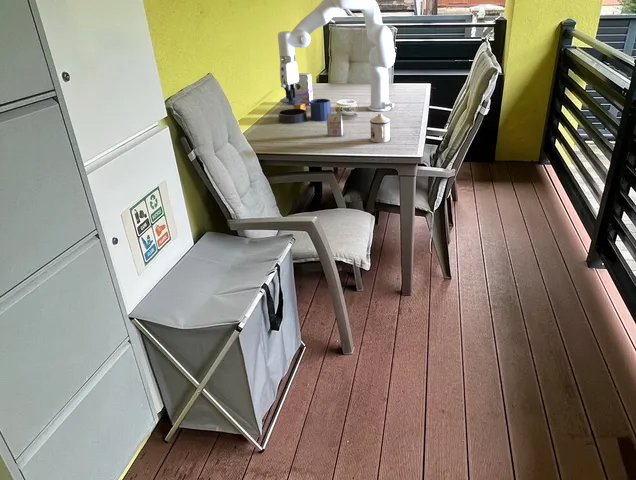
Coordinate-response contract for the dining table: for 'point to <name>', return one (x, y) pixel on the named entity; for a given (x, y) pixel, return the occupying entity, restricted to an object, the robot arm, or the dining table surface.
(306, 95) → the candy box
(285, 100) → the lid
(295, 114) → the pan
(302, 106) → the block
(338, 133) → the white printed carton
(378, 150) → the dining table surface
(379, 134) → the teacup with lid
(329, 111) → the pot
